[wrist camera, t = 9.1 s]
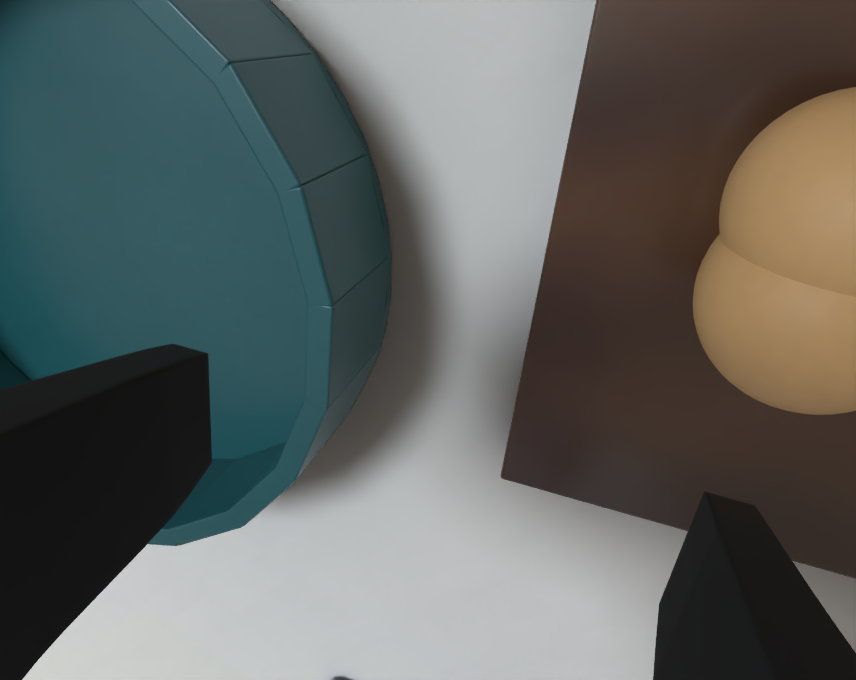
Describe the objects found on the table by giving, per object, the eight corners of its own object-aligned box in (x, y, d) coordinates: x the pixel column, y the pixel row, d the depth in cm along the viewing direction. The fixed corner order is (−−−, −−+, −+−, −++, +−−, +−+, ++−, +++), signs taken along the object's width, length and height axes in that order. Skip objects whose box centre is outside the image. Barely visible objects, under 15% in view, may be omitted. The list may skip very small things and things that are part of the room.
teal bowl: (370, 523, 22) (318, 615, 18) (-30, 398, 25) (-136, 457, 22) (423, -50, 14) (350, -70, 11) (-156, -114, 18) (-344, -144, 14)
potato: (861, 373, 14) (926, 489, 11) (666, 330, 15) (668, 423, 12) (994, 94, 12) (1136, 126, 8) (748, 61, 12) (783, 78, 9)
